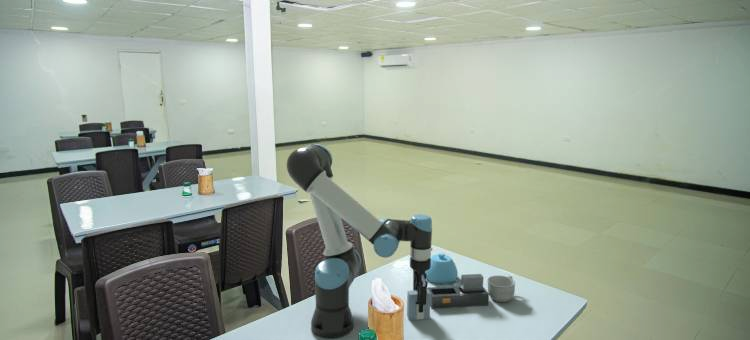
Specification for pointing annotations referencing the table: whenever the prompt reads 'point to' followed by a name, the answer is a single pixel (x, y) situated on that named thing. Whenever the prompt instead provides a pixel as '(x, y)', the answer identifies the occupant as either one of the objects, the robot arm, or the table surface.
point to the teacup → (501, 288)
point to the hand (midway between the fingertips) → (418, 316)
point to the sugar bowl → (442, 269)
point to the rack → (460, 293)
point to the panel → (412, 305)
